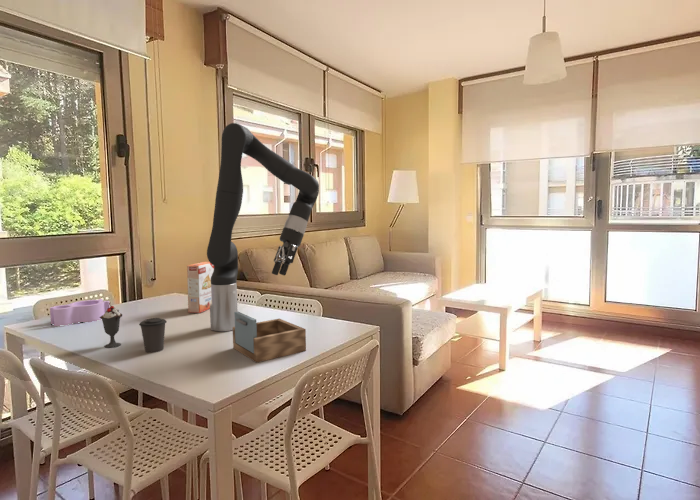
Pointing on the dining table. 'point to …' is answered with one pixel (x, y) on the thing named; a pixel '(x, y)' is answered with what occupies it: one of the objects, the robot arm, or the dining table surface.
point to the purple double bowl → (78, 312)
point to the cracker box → (199, 286)
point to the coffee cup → (153, 334)
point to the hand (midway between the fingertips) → (278, 274)
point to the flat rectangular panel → (245, 331)
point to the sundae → (111, 325)
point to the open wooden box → (274, 340)
